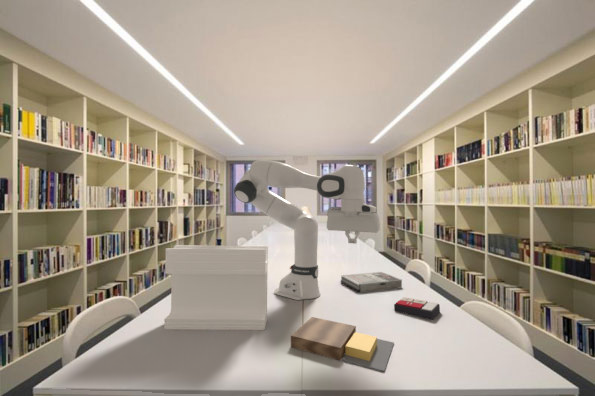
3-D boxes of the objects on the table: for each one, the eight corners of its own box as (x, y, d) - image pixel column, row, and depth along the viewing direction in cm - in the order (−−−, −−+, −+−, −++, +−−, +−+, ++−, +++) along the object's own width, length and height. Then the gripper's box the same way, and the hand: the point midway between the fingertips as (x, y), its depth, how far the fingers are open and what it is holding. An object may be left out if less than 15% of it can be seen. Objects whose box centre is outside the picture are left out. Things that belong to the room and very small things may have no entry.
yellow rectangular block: (345, 354, 82) (345, 345, 82) (354, 339, 91) (354, 332, 91) (369, 361, 79) (369, 352, 79) (376, 345, 88) (377, 337, 88)
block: (266, 320, 107) (267, 245, 107) (264, 329, 99) (265, 249, 99) (174, 319, 106) (175, 245, 107) (164, 329, 98) (165, 248, 99)
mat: (342, 360, 80) (342, 359, 80) (357, 335, 95) (357, 334, 95) (384, 372, 74) (384, 370, 74) (393, 343, 90) (393, 342, 90)
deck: (290, 346, 87) (290, 335, 87) (311, 326, 101) (311, 316, 101) (340, 360, 80) (340, 347, 80) (355, 336, 94) (355, 326, 94)
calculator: (403, 296, 126) (439, 302, 116) (403, 305, 126) (440, 312, 116) (393, 302, 117) (432, 309, 108) (394, 313, 117) (432, 321, 108)
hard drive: (340, 283, 158) (340, 275, 158) (381, 279, 167) (381, 271, 167) (358, 293, 140) (358, 284, 140) (402, 288, 149) (402, 280, 149)
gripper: (324, 206, 110) (324, 242, 110) (377, 207, 101) (377, 246, 101) (329, 206, 116) (329, 240, 116) (380, 207, 107) (380, 244, 107)
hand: (352, 243), depth 108 cm, fingers closed
